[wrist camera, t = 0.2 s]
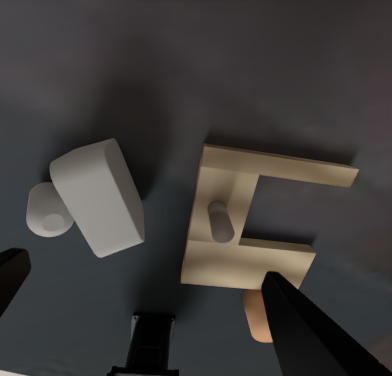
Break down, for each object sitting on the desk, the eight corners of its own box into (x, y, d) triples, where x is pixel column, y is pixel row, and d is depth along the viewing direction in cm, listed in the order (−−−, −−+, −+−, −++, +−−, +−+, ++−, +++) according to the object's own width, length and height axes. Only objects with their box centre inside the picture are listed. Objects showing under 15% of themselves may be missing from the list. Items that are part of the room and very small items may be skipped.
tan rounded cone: (269, 307, 30) (283, 343, 26) (238, 304, 30) (247, 341, 25) (279, 284, 29) (296, 318, 24) (246, 281, 28) (257, 316, 23)
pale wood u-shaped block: (290, 283, 28) (315, 326, 23) (181, 273, 27) (179, 317, 21) (347, 165, 21) (402, 186, 16) (203, 143, 20) (208, 158, 14)
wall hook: (14, 163, 20) (-94, 205, 10) (117, 134, 21) (100, 149, 12) (56, 228, 23) (1, 303, 14) (143, 199, 24) (145, 249, 15)
